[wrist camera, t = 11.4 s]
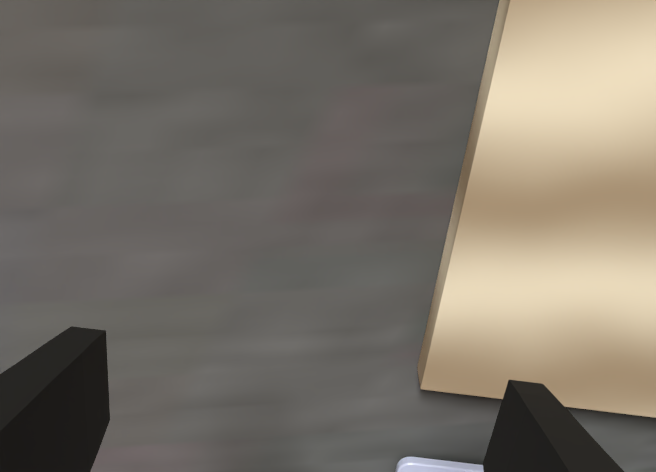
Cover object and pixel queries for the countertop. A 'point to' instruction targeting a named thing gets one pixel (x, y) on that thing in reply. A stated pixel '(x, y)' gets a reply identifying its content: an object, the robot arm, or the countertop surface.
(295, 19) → the countertop surface
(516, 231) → the board
